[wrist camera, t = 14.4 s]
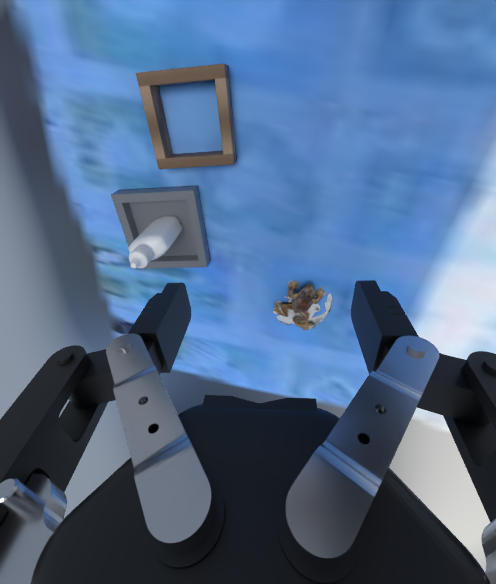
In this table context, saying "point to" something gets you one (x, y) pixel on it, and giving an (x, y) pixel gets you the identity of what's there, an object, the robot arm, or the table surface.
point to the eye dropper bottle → (154, 241)
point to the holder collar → (157, 121)
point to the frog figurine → (302, 306)
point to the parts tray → (159, 203)
